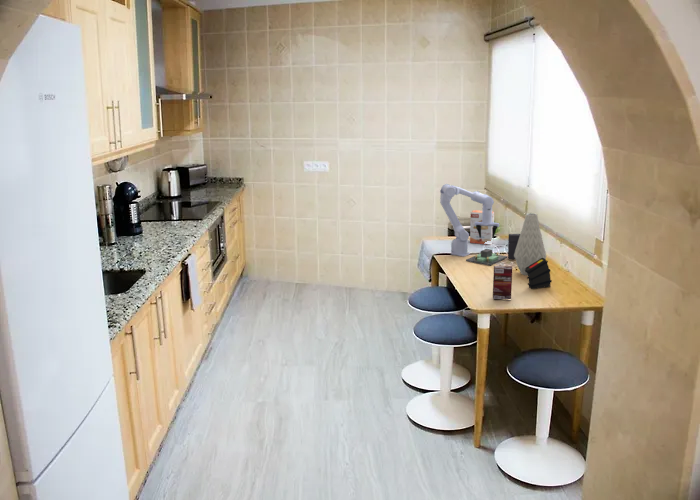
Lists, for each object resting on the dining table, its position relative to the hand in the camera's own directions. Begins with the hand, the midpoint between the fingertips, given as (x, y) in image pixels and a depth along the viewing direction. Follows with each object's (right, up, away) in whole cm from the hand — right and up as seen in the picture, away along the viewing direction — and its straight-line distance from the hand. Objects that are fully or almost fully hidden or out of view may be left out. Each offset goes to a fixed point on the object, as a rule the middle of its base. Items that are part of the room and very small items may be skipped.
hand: (486, 237), depth 374 cm
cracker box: (+2, -3, +24) cm, 25 cm away
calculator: (+15, -13, -13) cm, 24 cm away
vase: (+14, -20, -40) cm, 47 cm away
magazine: (+12, -27, -63) cm, 69 cm away
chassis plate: (-3, -13, -12) cm, 18 cm away
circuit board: (-3, -12, -12) cm, 18 cm away
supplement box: (-9, -31, -76) cm, 83 cm away
